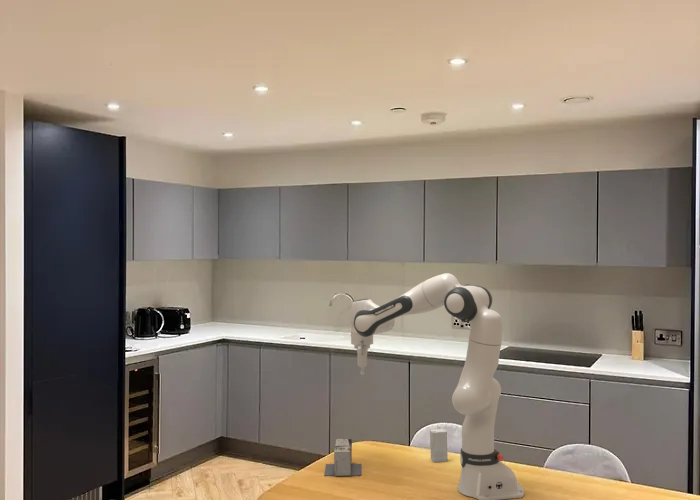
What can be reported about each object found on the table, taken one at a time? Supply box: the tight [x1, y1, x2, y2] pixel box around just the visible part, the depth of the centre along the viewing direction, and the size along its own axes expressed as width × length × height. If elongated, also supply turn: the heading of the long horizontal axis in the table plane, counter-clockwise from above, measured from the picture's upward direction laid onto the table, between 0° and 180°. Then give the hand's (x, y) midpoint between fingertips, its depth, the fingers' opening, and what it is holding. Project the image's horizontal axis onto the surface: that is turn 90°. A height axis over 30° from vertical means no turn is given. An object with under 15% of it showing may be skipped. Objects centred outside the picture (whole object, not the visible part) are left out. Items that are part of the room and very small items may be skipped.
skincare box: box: [429, 428, 449, 463], centre depth 251 cm, size 6×4×12 cm
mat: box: [323, 463, 362, 477], centre depth 242 cm, size 14×12×1 cm
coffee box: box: [333, 438, 353, 477], centre depth 243 cm, size 9×6×16 cm
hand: (362, 374), depth 251 cm, fingers closed
